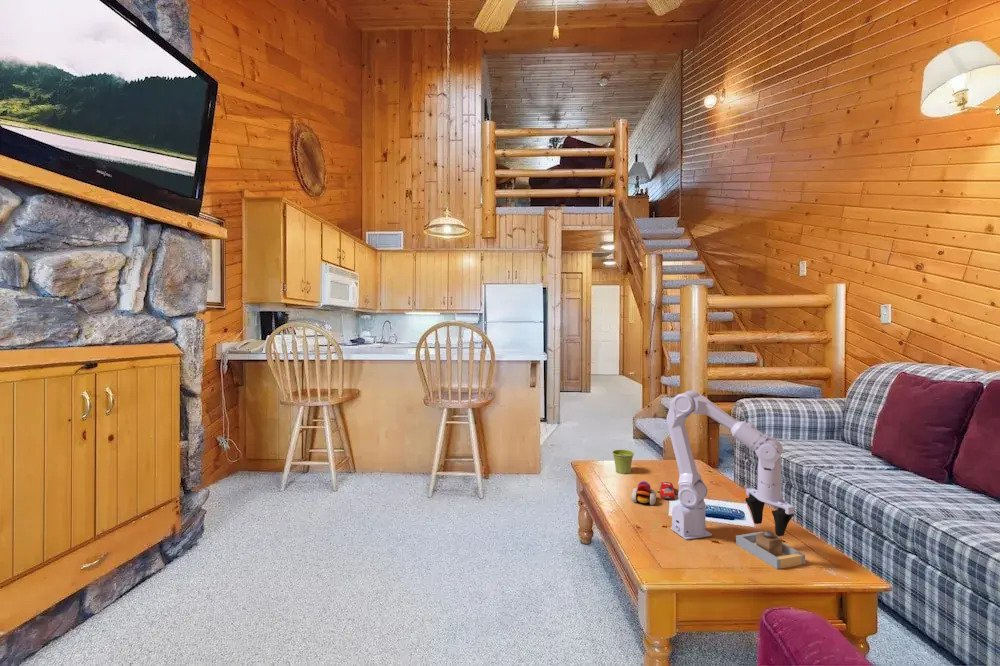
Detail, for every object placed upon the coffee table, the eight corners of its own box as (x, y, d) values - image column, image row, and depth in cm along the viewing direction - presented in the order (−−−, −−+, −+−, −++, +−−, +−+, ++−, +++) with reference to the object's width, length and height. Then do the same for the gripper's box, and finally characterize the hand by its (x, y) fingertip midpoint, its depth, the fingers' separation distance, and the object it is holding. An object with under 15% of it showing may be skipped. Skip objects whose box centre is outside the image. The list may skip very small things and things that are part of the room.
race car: (675, 502, 167) (675, 491, 166) (659, 500, 168) (659, 489, 168) (674, 489, 179) (674, 479, 179) (659, 488, 181) (659, 478, 181)
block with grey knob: (769, 557, 126) (769, 537, 126) (756, 549, 130) (756, 530, 130) (782, 554, 127) (782, 535, 127) (768, 547, 131) (768, 528, 131)
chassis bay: (776, 569, 120) (777, 559, 120) (735, 543, 134) (735, 535, 134) (805, 564, 123) (805, 555, 123) (761, 539, 137) (761, 531, 136)
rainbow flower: (630, 504, 164) (630, 484, 164) (633, 495, 173) (633, 476, 173) (655, 507, 161) (655, 487, 161) (656, 498, 170) (656, 479, 170)
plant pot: (631, 476, 194) (631, 456, 194) (609, 473, 198) (609, 453, 198) (636, 470, 202) (636, 451, 202) (615, 467, 207) (615, 448, 206)
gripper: (803, 489, 122) (802, 539, 122) (759, 472, 136) (759, 516, 136) (782, 492, 120) (781, 542, 121) (740, 474, 134) (740, 519, 135)
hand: (768, 529), depth 128 cm, fingers open, 7 cm apart
